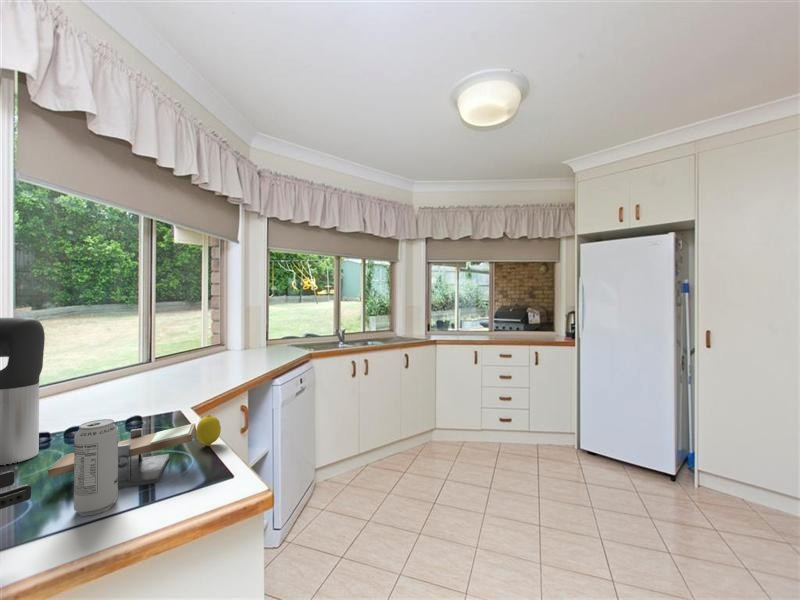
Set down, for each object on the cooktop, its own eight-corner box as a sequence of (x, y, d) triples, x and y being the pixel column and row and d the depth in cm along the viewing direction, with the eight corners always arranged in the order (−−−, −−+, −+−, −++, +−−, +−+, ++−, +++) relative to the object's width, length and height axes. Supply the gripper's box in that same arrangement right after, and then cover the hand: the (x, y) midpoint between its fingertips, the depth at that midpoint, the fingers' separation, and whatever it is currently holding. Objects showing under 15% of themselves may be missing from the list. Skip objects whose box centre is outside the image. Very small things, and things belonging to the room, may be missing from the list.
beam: (48, 477, 70) (47, 469, 70) (67, 461, 77) (65, 453, 77) (191, 441, 79) (190, 433, 79) (196, 429, 86) (194, 422, 86)
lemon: (224, 445, 94) (224, 414, 94) (201, 452, 90) (201, 419, 90) (215, 440, 98) (215, 410, 98) (192, 446, 93) (192, 415, 93)
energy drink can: (125, 503, 67) (125, 420, 67) (86, 521, 61) (86, 431, 61) (105, 496, 69) (106, 416, 69) (66, 512, 64) (66, 426, 64)
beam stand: (82, 495, 70) (82, 452, 70) (105, 467, 82) (106, 431, 82) (157, 482, 74) (157, 443, 74) (168, 458, 86) (168, 424, 86)
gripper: (-168, 528, 40) (37, 470, 54) (-172, 493, 47) (8, 450, 61) (-169, 598, 40) (36, 522, 53) (-173, 552, 47) (8, 495, 61)
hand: (21, 483), depth 57 cm, fingers open, 8 cm apart
